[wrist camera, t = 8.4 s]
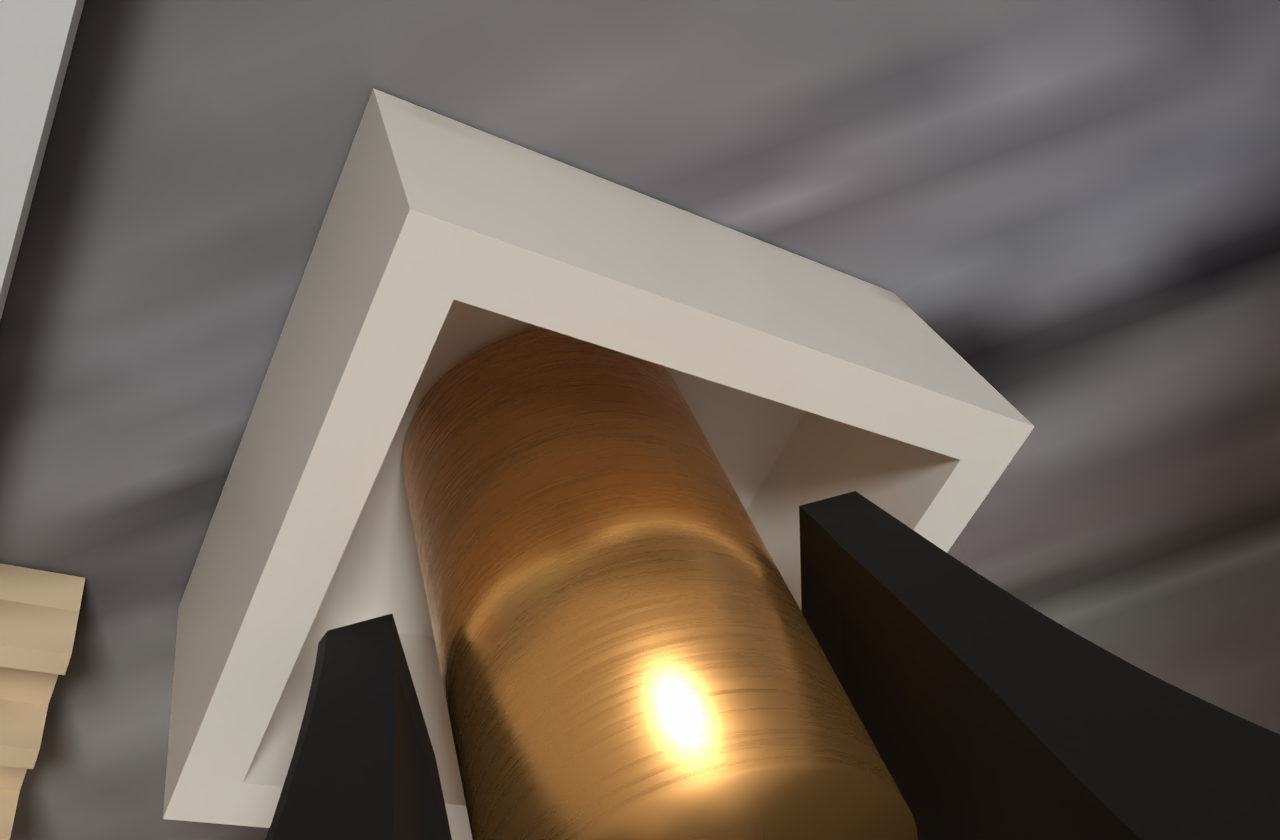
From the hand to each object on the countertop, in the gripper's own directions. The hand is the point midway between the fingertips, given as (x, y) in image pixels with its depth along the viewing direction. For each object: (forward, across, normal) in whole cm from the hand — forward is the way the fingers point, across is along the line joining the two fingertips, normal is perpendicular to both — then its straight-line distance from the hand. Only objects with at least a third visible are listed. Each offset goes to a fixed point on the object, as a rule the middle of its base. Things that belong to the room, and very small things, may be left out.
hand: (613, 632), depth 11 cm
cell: (+3, 0, 0) cm, 3 cm away
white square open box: (+3, 0, 0) cm, 3 cm away
